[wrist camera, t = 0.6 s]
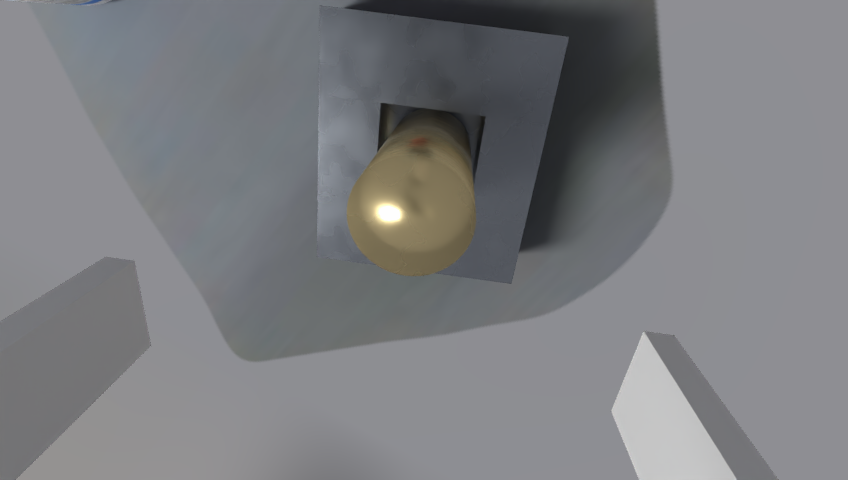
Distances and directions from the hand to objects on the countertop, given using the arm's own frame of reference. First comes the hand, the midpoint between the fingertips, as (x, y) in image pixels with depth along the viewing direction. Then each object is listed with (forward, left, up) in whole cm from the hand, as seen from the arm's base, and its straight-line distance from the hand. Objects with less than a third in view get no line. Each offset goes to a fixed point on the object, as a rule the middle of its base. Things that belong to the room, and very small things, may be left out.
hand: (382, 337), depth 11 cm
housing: (0, 0, -22) cm, 22 cm away
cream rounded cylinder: (0, 0, -21) cm, 21 cm away
